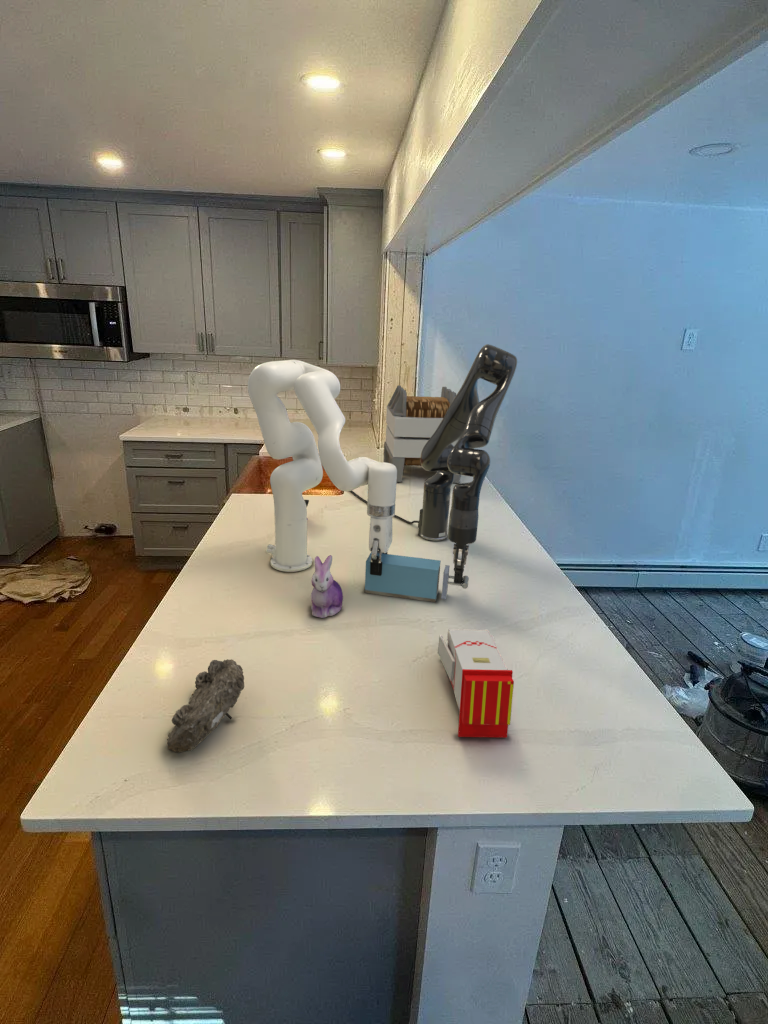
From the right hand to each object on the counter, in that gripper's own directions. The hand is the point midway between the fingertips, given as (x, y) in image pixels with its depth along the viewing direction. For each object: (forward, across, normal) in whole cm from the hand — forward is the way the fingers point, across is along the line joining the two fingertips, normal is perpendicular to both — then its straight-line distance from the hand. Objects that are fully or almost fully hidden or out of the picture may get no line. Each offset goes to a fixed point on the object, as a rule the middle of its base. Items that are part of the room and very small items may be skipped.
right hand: (457, 582), depth 155 cm
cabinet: (+5, 0, +15) cm, 16 cm away
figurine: (+5, -15, +33) cm, 36 cm away
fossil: (+6, -59, +42) cm, 73 cm away
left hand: (-1, 0, +22) cm, 22 cm away
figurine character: (+5, +41, +60) cm, 73 cm away
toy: (+6, -40, -6) cm, 40 cm away
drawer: (+4, 0, +9) cm, 10 cm away
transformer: (+4, +123, +26) cm, 126 cm away
